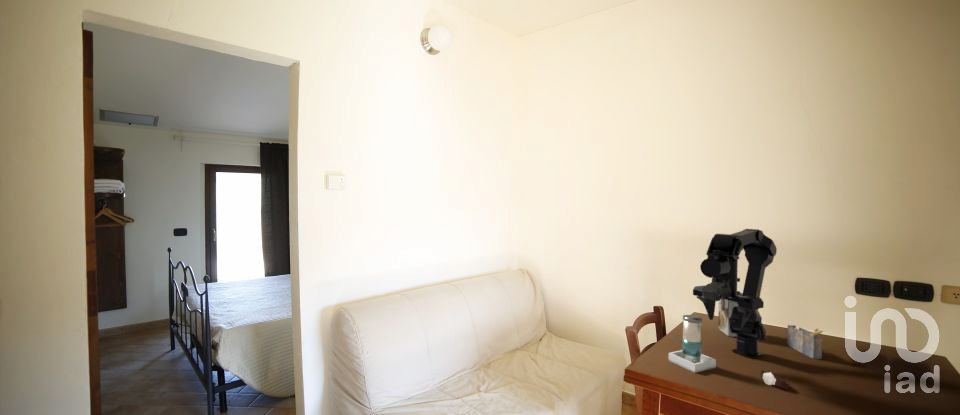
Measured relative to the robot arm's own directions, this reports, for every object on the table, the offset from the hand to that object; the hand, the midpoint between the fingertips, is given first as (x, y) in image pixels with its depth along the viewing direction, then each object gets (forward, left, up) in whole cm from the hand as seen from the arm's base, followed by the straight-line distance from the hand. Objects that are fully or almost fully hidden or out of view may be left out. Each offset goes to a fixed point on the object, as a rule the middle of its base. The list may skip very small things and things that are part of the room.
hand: (725, 323), depth 116 cm
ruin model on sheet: (-36, +3, -14) cm, 39 cm away
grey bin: (+9, -5, -13) cm, 16 cm away
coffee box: (-31, -18, -13) cm, 38 cm away
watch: (-1, +13, -14) cm, 19 cm away
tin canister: (+9, -5, -12) cm, 16 cm away
